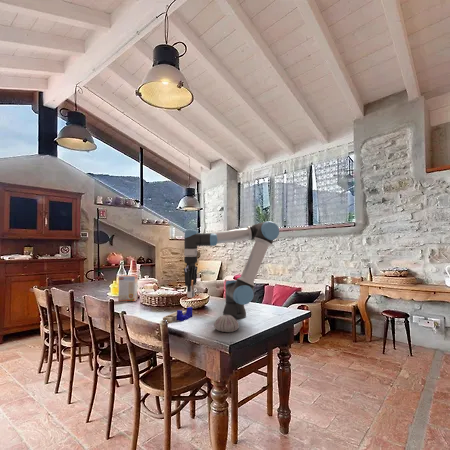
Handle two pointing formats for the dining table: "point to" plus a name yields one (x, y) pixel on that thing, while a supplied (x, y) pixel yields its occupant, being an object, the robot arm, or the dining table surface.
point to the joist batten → (172, 317)
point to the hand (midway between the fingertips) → (190, 296)
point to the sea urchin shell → (226, 323)
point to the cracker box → (127, 288)
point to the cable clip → (184, 317)
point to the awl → (192, 288)
